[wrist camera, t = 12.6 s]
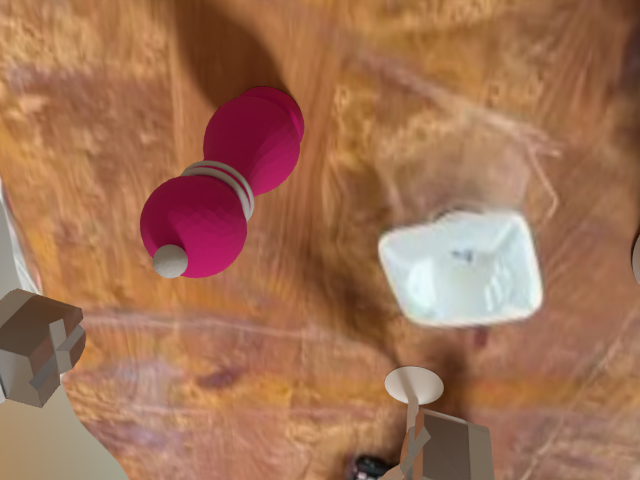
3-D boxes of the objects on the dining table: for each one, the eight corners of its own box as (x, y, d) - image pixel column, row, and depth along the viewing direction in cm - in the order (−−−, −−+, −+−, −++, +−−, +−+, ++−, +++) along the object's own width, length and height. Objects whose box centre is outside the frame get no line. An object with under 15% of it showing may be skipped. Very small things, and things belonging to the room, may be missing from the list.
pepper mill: (230, 69, 39) (90, 193, 23) (318, 93, 39) (238, 235, 23) (223, 149, 43) (100, 301, 27) (301, 171, 43) (224, 338, 27)
